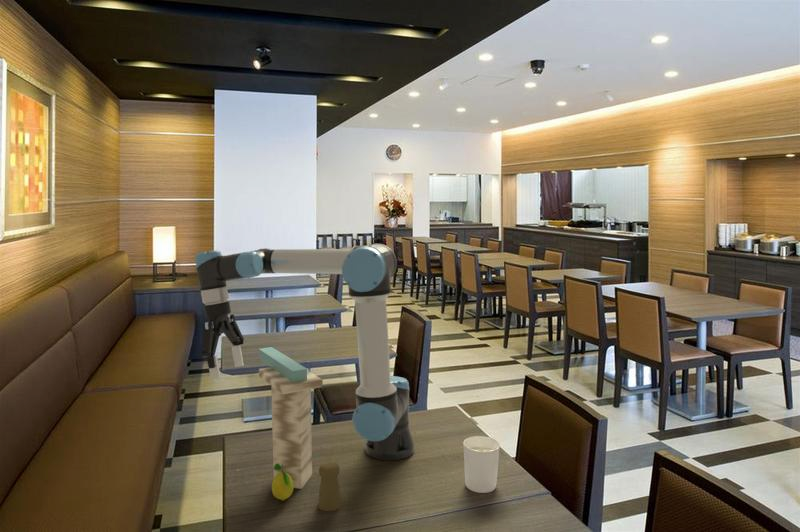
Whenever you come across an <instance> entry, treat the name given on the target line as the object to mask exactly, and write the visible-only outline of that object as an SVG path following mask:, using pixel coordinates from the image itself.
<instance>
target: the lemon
mask: <svg viewBox="0 0 800 532" xmlns="http://www.w3.org/2000/svg"><path fill="white" fill-rule="evenodd" d="M274 469H275V470H281V469H282V472H281V473H278V474H277V475H276V476H275V477H274V476H273V480H272V483H271V492H272V495H273V496H274V498H276V499H278V500H280V501H282V502H284V501H285V500H287V499H288V498H290V497H291V495H292V494H293V491H294V488H293V480H292V478H291V476H290V475H289V474H288V473H285V472H283V464H282V466H280V465H279V464H278V463H277V464H275V466H274Z"/></svg>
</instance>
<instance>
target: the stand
mask: <svg viewBox="0 0 800 532" xmlns="http://www.w3.org/2000/svg"><path fill="white" fill-rule="evenodd" d="M258 377H260V378H261V379H263V380H264V381H265V382H267V384H269V385H270V386H271V390H270V391H271V424H272V425H271V427H272V465H273V466H272V467H273V474H272V475H273V478H274V477H275V476H276V475H277V474H278V473H281V472H282V469H281V470H275V469H274V466H275V464H277V463H278V464H279V465H280V466H282V464H283V472H285V473H288V474H289V475H290V476H291V478H292V480H293V489H300V490H302V489H303V488H304V486H305V485H306V484H307V483H308V481H309V480H310V479H311V477H312V475H313V454H312V453H313V448H312V447H313V445H312V444H313V442H312V440H313V439H312V391H311V390H313V389H318V388H322V387H323V384H324V383H323V379H322V378H321V377H319V376H318V375H316V374H315V373H313V372H311V371H310V370H308V369H307V380H303V381H298V382H292V381H290V380H289V379H287V378H286V377H284V376H283V375H282V374H280V373H279V372H277V371H276V370H274V369H273V368H272V367H270V366H269V367H262V368H258Z"/></svg>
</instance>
